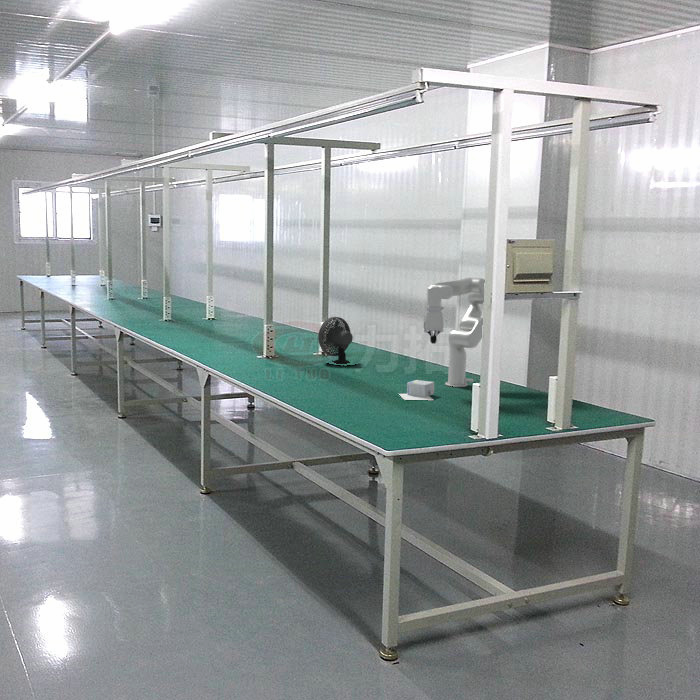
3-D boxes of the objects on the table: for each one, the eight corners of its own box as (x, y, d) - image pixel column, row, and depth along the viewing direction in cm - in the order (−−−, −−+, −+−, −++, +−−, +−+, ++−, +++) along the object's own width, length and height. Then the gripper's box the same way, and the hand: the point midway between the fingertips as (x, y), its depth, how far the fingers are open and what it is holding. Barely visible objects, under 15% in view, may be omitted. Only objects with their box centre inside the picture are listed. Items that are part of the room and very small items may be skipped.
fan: (354, 360, 512) (355, 315, 508) (360, 366, 486) (361, 320, 482) (315, 359, 509) (316, 315, 504) (319, 366, 483) (320, 319, 479)
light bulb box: (434, 394, 401) (416, 391, 407) (434, 381, 400) (416, 379, 406) (424, 397, 392) (406, 394, 398) (424, 384, 391) (406, 382, 397)
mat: (425, 394, 402) (425, 393, 402) (433, 400, 387) (433, 399, 387) (397, 394, 400) (397, 393, 400) (405, 400, 384) (405, 400, 384)
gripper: (445, 308, 412) (444, 341, 415) (418, 308, 409) (418, 342, 412) (449, 310, 405) (448, 344, 408) (422, 310, 402) (422, 344, 405)
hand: (433, 343), depth 410 cm, fingers closed
